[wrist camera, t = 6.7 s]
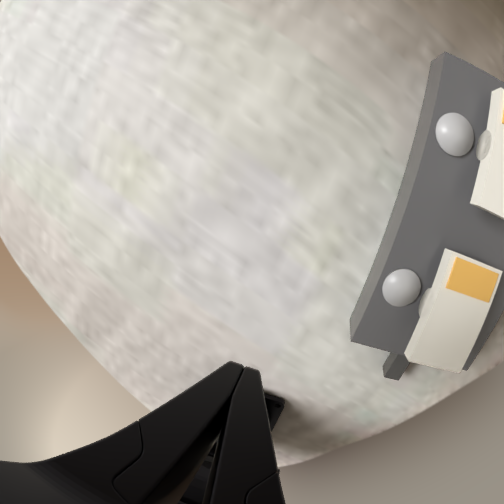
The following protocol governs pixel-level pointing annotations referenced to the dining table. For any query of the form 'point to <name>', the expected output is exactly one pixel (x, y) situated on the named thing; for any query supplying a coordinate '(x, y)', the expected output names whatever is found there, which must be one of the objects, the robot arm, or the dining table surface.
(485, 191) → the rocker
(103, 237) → the dining table surface
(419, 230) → the switch panel
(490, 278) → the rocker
